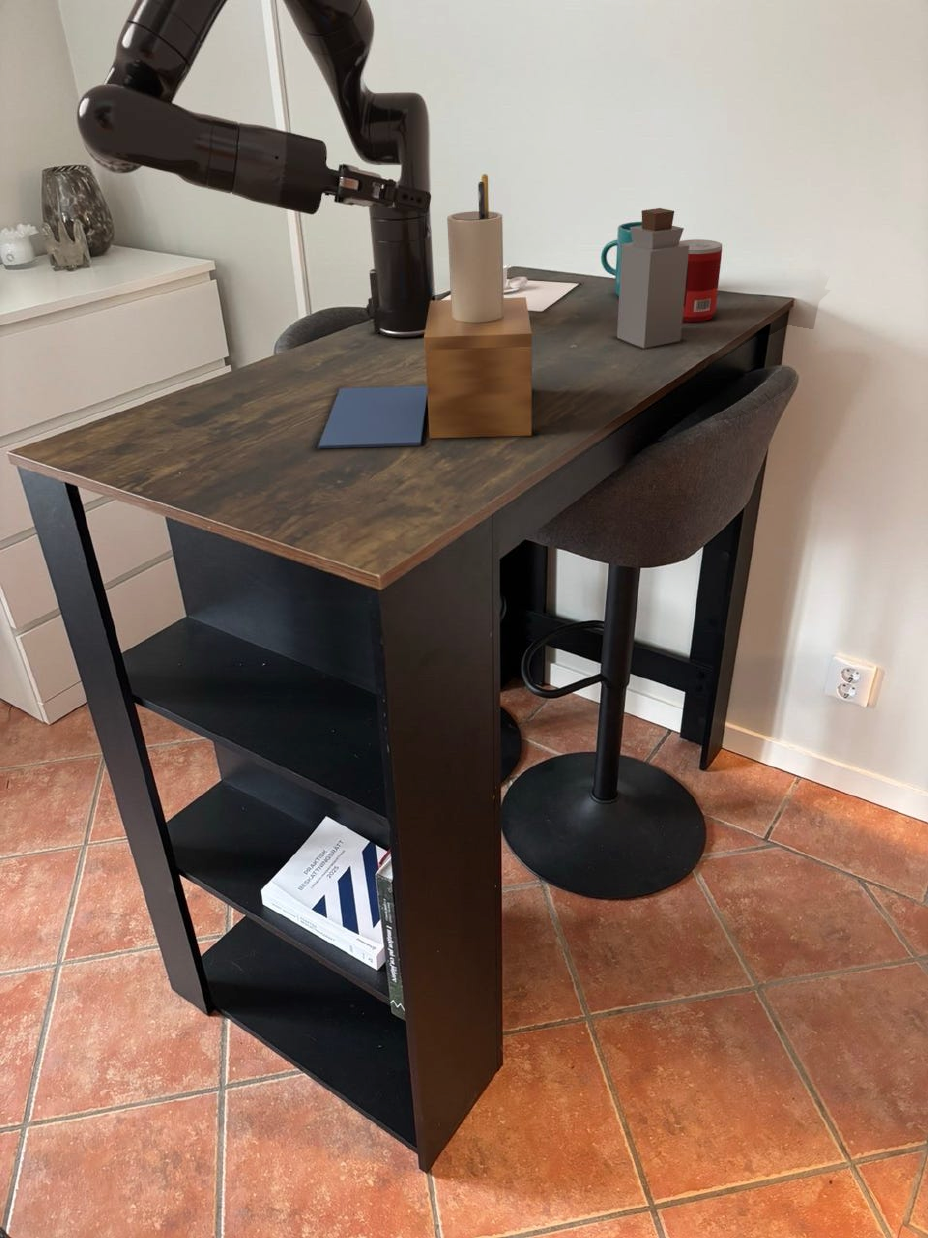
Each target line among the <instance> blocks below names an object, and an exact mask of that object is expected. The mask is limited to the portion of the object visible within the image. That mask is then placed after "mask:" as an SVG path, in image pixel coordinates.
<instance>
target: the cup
mask: <svg viewBox="0 0 928 1238" xmlns="http://www.w3.org/2000/svg"><path fill="white" fill-rule="evenodd" d="M635 226H642V221H632V222H626V223H622V224H620V225H618V227H617V235H616V236H617V237H616V239H613V240H611V241H609V242H608V243H607V244H605V246H603V249H602V251H601V254H600V261H601V264H602V267H603V269H604V270H605V271H606V272H607V273H608V274H609V275H612V276H614V293H615V295H616V296H617V297H619V292H620V273H621V255H622V244H624V243H631V242H633V241H632V236H631V231H630V227H635ZM613 247H616V256H615V268H613V267H612V266H611V265H610V263H609V262H608V253H609V251H610V250H611V249H612V248H613Z"/></svg>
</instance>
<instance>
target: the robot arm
mask: <svg viewBox="0 0 928 1238" xmlns="http://www.w3.org/2000/svg"><path fill="white" fill-rule="evenodd" d="M228 1H229V0H135V2H134V4H133V6H132V8H131V10H130V12H129V14H128V15H127V18H126V20H125V23H124V24H123V25H122V28H121V30H120V33H119V36H118V39H117V42H116V48H115V56H114V60H113V63H112V65H111V67H110V68H109V71H108V73H107V75H106V77H105V79H104V81H103V84H99V85H96V86H93V87H92V88H89V89H88V90H86V92H85V93H84V94H82V97H81V98H80V100H79V101H78V105H77V108H76V124H77V129H78V132H79V135H80V137H81V139H82V142H83V145H84V148H85V149H86V152H87V153H88V155H89V156H90V158H91V159H92V161H94V162H95V163H96V164H97V165H98V166H100V167H101V168H102V169H104V170H106V171H108V172H110V173H114V174H129V173H130V174H131V173H133V172H136V171H137V170H139V169H140V168H142V167H146V168H149V169H153V170H158V171H161V172H166V173H170V174H173V175H176V176H177V177H178V178H180V179H181V180H182V181H184V182H185V183H187V184H190V185H193V186H196V187H199V188H204V189H207V190H212V191H217V192H220V193H225V194H231V195H233V196H237V197H240V198H243V199H245V200H248V201H250V202H254V203H259V204H263V205H267V206H271V207H275V208H280V209H286V210H290V211H293V212H297V213H298V212H299V213H302V214H308V215H315V214H316V213H317V212H318V211H319V208H320V206H321V202H322V196H323V194H324V196H326V197H327V196H328V197H329V196H333V197H334V198H333V203H336V204H340V205H345V206H357V207H358V206H359V207H363V208H365V207H367V208H368V213H369V223H370V234H371V245H372V246H371V247H372V255H373V256H372V257H373V268H372V269H370V270H369V283H370V294H371V297H370V298H368V299H367V302H368V303H367V305H366V307H365V312H366V314H367V316H368V317H369V318H370V320H373V327H374V333H375V334H381V335H383V336H387V337H391V338H392V337H393V338H415V337H421V336H424V335H425V329H426V323H427V317H428V312H429V306H430V301H434V300H436V287H435V285H436V284H435V268H434V267H435V266H434V249H433V235H432V234H433V233H432V213H431V201H432V194H431V193H432V179H431V178H432V177H431V123H430V114H429V113H430V112H429V109H428V105H427V103H426V101H425V99H424V97H423V96H422V95H421V94H419V93H417V92H412V91H411V92H409V91H407V92H406V91H405V92H400V91H399V92H373V91H372V90H370V88H368V86H367V84H366V82H365V80H364V74H365V70H366V67H367V64H368V61H369V58H370V55H371V52H372V48H373V45H374V39H375V30H376V26H375V18H374V14H373V11H372V9H371V5H370V3H369V1H368V0H282V1H283V3H284V5H285V8H286V10H287V11H288V13H289V16H290V18H291V20H292V22H293V24H294V26H295V27H296V29H297V31H298V33H299V35H300V37H301V39H302V41H303V43H304V45H305V47H306V48H307V50H308V51H309V53H310V54H311V57H312V58H313V60H314V62H315V64H316V66H317V67H318V69H319V71H320V73H321V75H322V77H323V80H324V81H325V83H326V85H327V87H328V89H329V92H330V94H331V96H332V98H333V101H334V103H335V105H336V108H337V111H338V113H339V115H340V118H341V120H342V123H343V126H344V128H345V130H346V133H347V136H348V138H349V141H350V143H351V145H352V147H353V149H354V152H355V153H356V154H357V156H358V157H359V158H360V159H361V160H362V161H363V162H364V163H365V164H369V165H373V166H400V177H399V179H398V180H394V179H391V178H388V179H386V178H382V176H381V175H380V174H379V173H376V172H374V171H373V172H372V171H367V170H363V169H359V167H357V166H355V165H351V164H347V163H342V164H338V168H337V169H338V170H337V169H334V168H330V167H329V166H328V165H327V159H328V150H327V145H326V143H325V142H324V141H323V140H322V139H321V140H320V139H317V138H313V137H309V136H305V135H301V134H296V133H294V132H290V131H286V130H281V129H278V128H274V127H269V126H265V125H261V124H251V123H244V122H238V121H235V120H232V119H231V120H230V119H227V118H223V117H220V116H215V115H210V114H206V113H200V112H196V111H192V110H189V109H187V108H185V107H182V106H180V105H178V104H176V103H173V102H174V100H175V98H176V96H177V94H178V91H179V90H180V88H181V87H182V86H183V83H184V82H185V81H186V80H187V77H188V75H189V74H190V72H191V69H192V67H193V66H194V64H195V63H196V62H195V61H196V60H197V58H198V56H199V54H200V52H201V50H202V48H203V46H204V44H205V42H206V40H207V38H208V36H209V34H210V32H211V31H212V28H213V27H214V25H215V23H216V21H217V19H218V17H219V16H220V14H221V13H222V11H223V9H224V8H225V6H226V4H227V3H228Z"/></svg>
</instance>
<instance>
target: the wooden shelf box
mask: <svg viewBox="0 0 928 1238" xmlns="http://www.w3.org/2000/svg"><path fill="white" fill-rule="evenodd" d="M531 327H532V326H531V322H530V316H529V310H528V309H527V303H526V298H525V297H519V298H504V316H503V317H502V318H500V319H498V320H495V321H490V322H483V323H466V322H460V321H457V320H454V319H453V318H452V312H451V300H442V299H435V300H434V301H430V306H429V312H428V317H427V323H426V329H425V335H423V343H424V359H425V360H424V362H425V377H426V385H427V395H428V397H427V408H428V410H427V411H428V426H429V439H460V438H464V439H465V438H493V437H494V438H495V437H497V438H498V437H525V436H526V437H527V436H528V437H529V436H532V409H533V407H532V406H533V405H532V402H533V401H532V397H533V396H532V395H533V392H532V385H533V383H532V380H533V379H532V376H533V375H532V371H533V369H532V368H533V367H532V365H533V362H532V359H533V358H532V356H533V355H532V353H533V352H532V350H533V349H532V348H533V346H532V344H533V339H532V338H533V336H532V335H533V333H532V328H531Z"/></svg>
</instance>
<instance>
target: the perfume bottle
mask: <svg viewBox="0 0 928 1238" xmlns="http://www.w3.org/2000/svg"><path fill="white" fill-rule="evenodd" d="M674 215H675V210H671V209H668V208H663V207H655V208H648V209H642V210H641V222H642V226H635V227H630V231H631V236H632V241H633V242H631V243H624V244H622V255H621V273H620V292H619V296H618V311H617V329H616V331H617V332H616V338H617V339H618V340H619V339H620V340H621V341H624V342H627V343H629V344H632V345H634V346H637V347H639V348H641V349H649V348H653V347H657V346H663V345H667V344H672V343H678V342H681V341H682V340H681V339H682V329H683V322H682V319H683V308H684V298H685V287H686V276H687V265H688V255H689V245H686V244H682V243H679V241H681V238H682V235H683V233H684V230H685V228H684V227H680V226H677V225H673V221H674Z"/></svg>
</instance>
